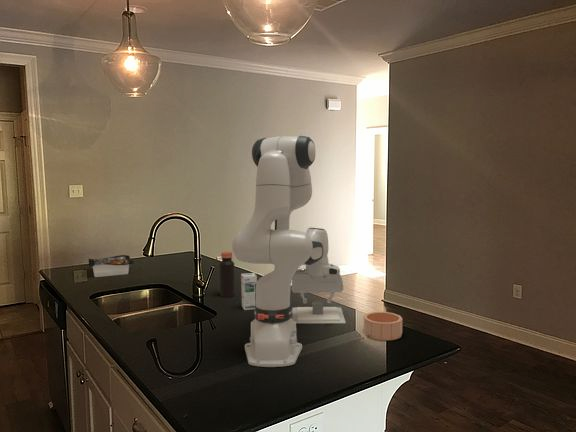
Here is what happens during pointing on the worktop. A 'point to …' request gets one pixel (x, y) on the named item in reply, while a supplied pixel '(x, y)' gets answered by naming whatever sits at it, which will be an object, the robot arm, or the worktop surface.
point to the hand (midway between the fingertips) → (317, 303)
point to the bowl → (383, 326)
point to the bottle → (227, 275)
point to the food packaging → (111, 265)
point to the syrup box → (248, 290)
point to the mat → (342, 320)
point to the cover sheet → (309, 317)
